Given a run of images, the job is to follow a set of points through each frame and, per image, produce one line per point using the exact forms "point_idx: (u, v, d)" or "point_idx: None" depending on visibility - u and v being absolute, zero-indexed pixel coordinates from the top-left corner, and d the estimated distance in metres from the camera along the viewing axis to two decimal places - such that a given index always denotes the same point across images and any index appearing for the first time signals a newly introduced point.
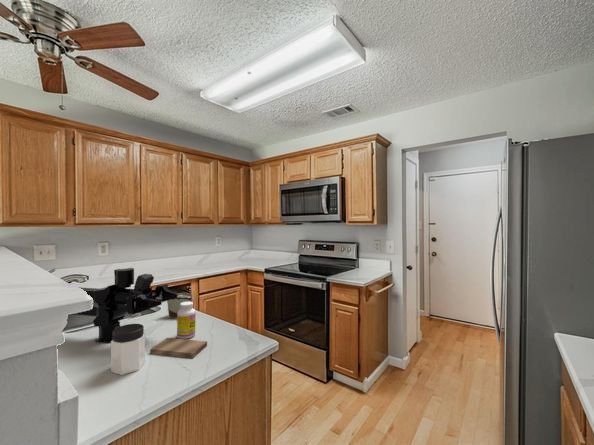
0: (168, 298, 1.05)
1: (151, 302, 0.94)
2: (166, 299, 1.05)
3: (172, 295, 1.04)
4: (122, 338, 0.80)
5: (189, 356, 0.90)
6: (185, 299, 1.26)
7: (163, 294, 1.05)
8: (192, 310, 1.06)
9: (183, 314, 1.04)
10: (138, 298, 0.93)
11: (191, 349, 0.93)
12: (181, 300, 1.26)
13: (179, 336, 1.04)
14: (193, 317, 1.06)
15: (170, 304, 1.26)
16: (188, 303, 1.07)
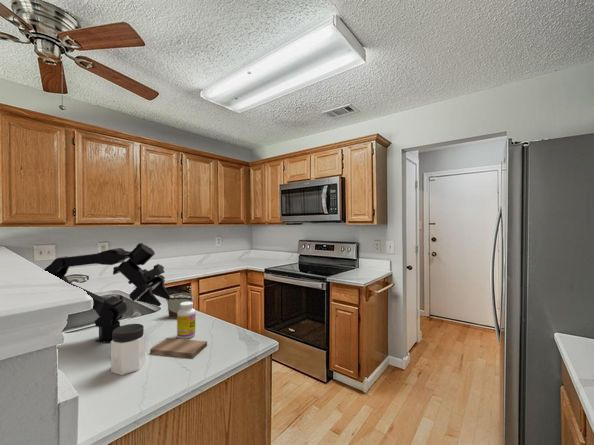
0: (159, 293, 1.10)
1: (153, 300, 1.00)
2: (157, 293, 1.10)
3: (165, 295, 1.10)
4: (122, 338, 0.80)
5: (189, 356, 0.90)
6: (185, 299, 1.26)
7: (158, 287, 1.11)
8: (192, 310, 1.06)
9: (183, 314, 1.04)
10: (147, 291, 0.98)
11: (191, 349, 0.93)
12: (181, 300, 1.26)
13: (179, 336, 1.04)
14: (193, 317, 1.06)
15: (170, 304, 1.26)
16: (188, 303, 1.07)
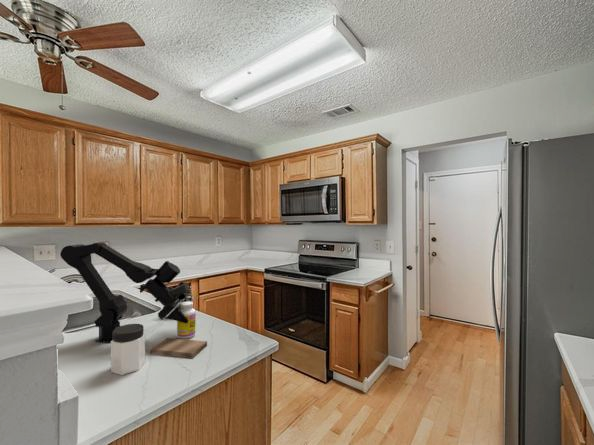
0: None
1: (181, 317, 1.02)
2: None
3: None
4: (122, 338, 0.80)
5: (189, 356, 0.90)
6: None
7: None
8: (192, 310, 1.06)
9: None
10: (176, 309, 1.00)
11: (191, 349, 0.93)
12: None
13: (179, 336, 1.04)
14: (193, 317, 1.06)
15: None
16: (188, 303, 1.07)
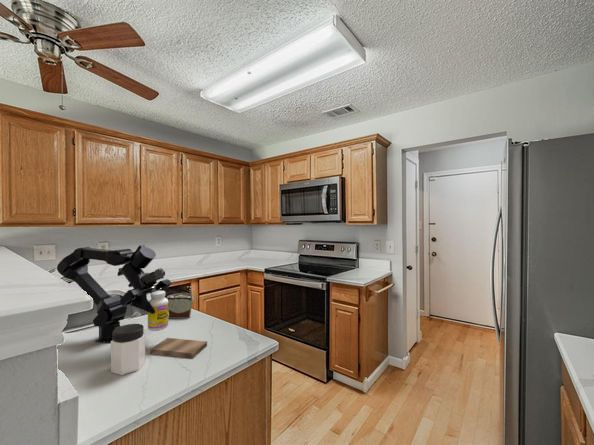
0: None
1: (147, 306, 0.94)
2: None
3: None
4: (122, 338, 0.80)
5: (189, 356, 0.90)
6: (185, 299, 1.26)
7: None
8: (162, 301, 0.97)
9: (151, 304, 0.95)
10: (139, 297, 0.92)
11: (191, 349, 0.93)
12: (181, 300, 1.26)
13: (148, 327, 0.96)
14: (161, 308, 0.96)
15: (170, 304, 1.26)
16: (159, 293, 0.98)
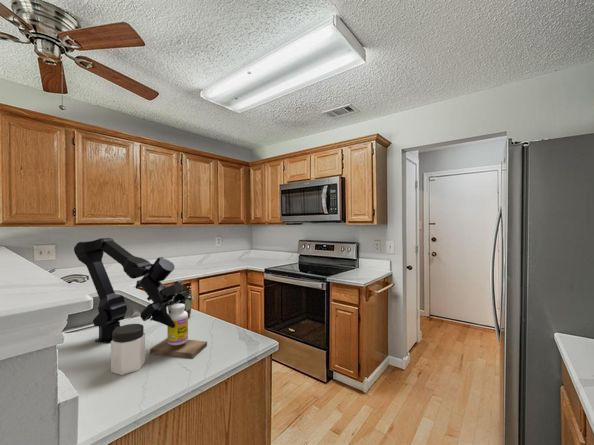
0: None
1: (167, 320, 0.92)
2: None
3: None
4: (122, 338, 0.80)
5: (189, 356, 0.90)
6: None
7: None
8: (182, 314, 0.95)
9: (171, 317, 0.93)
10: (160, 311, 0.90)
11: (191, 349, 0.93)
12: None
13: (168, 341, 0.94)
14: (181, 322, 0.94)
15: None
16: (178, 306, 0.95)
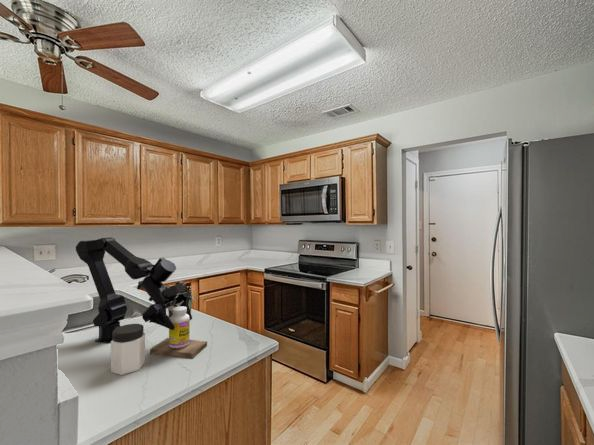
0: None
1: (166, 322, 0.91)
2: None
3: None
4: (122, 338, 0.80)
5: (189, 356, 0.90)
6: None
7: (181, 305, 1.02)
8: (184, 317, 0.95)
9: (173, 320, 0.93)
10: (159, 313, 0.89)
11: (191, 349, 0.93)
12: None
13: (169, 344, 0.94)
14: (183, 325, 0.94)
15: None
16: (180, 308, 0.96)
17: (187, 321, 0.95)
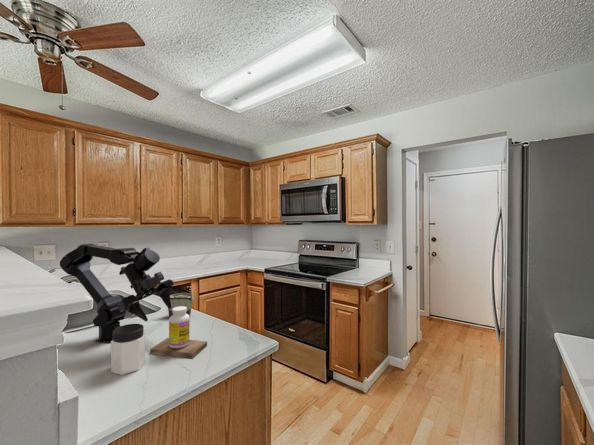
0: (164, 301, 1.03)
1: (140, 314, 0.94)
2: (162, 299, 1.04)
3: (167, 304, 1.02)
4: (122, 338, 0.80)
5: (189, 356, 0.90)
6: (185, 299, 1.27)
7: (163, 293, 1.03)
8: (184, 317, 0.95)
9: (173, 320, 0.93)
10: (131, 306, 0.92)
11: (191, 349, 0.93)
12: (181, 300, 1.26)
13: (169, 344, 0.94)
14: (183, 325, 0.94)
15: None
16: (180, 308, 0.96)
17: (187, 321, 0.95)
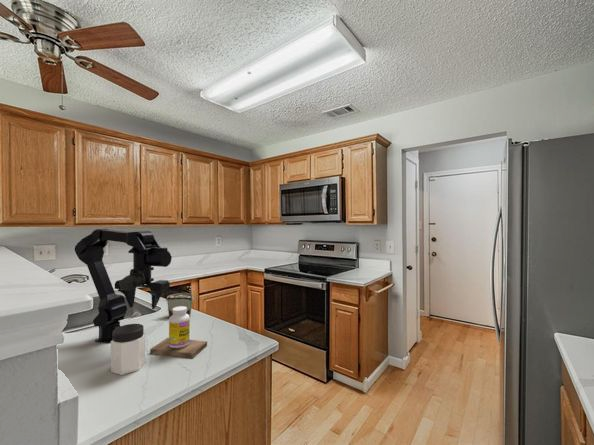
0: None
1: None
2: None
3: None
4: (122, 338, 0.80)
5: (189, 356, 0.90)
6: (185, 299, 1.26)
7: None
8: (184, 317, 0.95)
9: (173, 320, 0.93)
10: (120, 290, 1.00)
11: (191, 349, 0.93)
12: (181, 300, 1.26)
13: (169, 344, 0.94)
14: (183, 325, 0.94)
15: (170, 304, 1.26)
16: (181, 308, 0.96)
17: (187, 321, 0.95)
